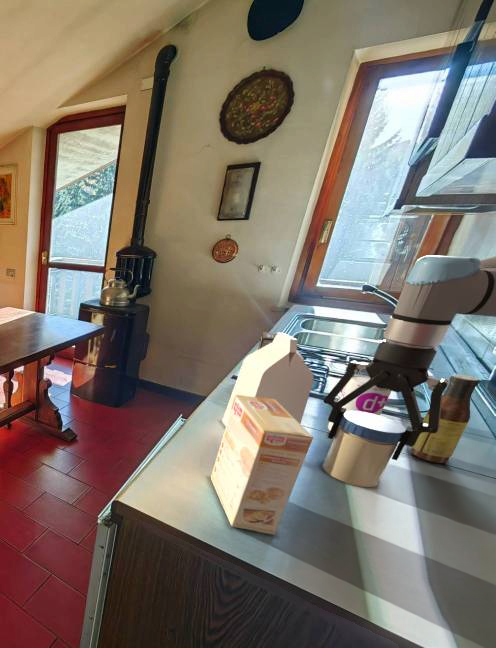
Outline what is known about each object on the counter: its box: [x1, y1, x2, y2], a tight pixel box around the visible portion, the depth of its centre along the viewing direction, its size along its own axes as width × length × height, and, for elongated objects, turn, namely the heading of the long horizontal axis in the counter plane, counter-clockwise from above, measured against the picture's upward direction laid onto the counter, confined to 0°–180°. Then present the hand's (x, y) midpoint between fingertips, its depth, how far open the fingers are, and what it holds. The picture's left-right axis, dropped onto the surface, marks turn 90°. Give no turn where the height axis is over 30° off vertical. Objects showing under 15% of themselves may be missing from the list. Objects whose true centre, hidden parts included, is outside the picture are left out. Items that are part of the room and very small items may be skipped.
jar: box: [322, 426, 399, 488], centre depth 81 cm, size 9×9×12 cm
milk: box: [221, 332, 315, 427], centre depth 94 cm, size 12×12×26 cm
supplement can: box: [327, 374, 392, 431], centre depth 97 cm, size 8×8×15 cm
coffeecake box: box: [210, 395, 314, 536], centre depth 70 cm, size 15×7×20 cm, turn 164°
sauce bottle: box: [410, 373, 481, 464], centre depth 87 cm, size 6×6×20 cm
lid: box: [339, 411, 407, 444], centre depth 79 cm, size 10×10×2 cm
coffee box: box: [257, 331, 277, 350], centre depth 129 cm, size 9×6×16 cm
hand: (361, 446), depth 81 cm, fingers closed on lid, 9 cm apart
